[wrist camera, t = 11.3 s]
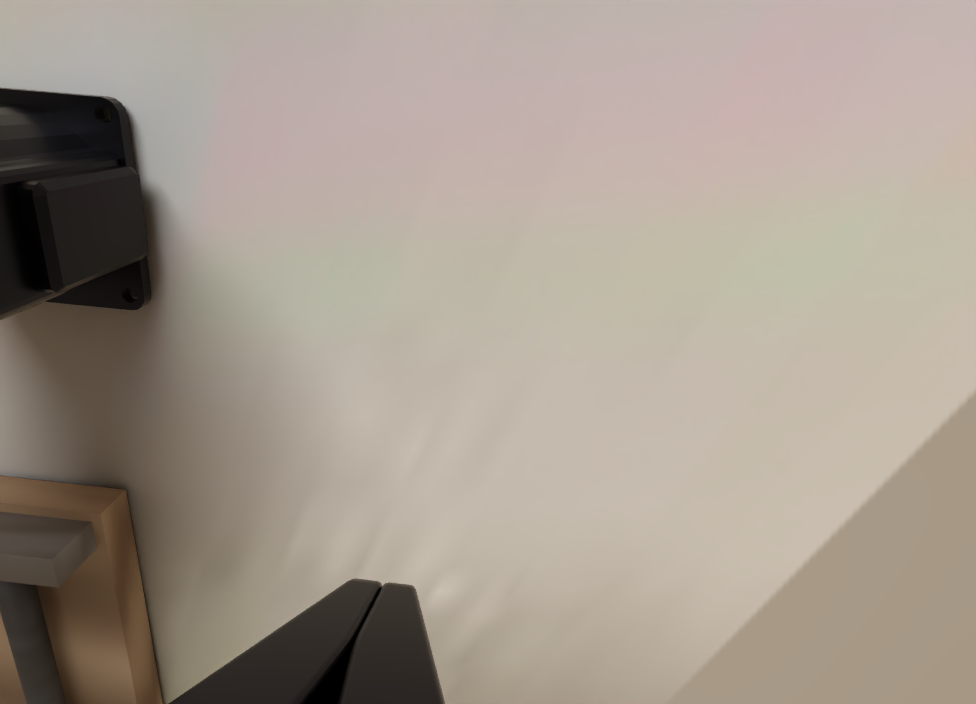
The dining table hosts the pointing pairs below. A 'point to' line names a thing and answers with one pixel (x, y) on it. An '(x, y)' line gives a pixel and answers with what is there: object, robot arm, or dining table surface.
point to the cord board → (71, 598)
